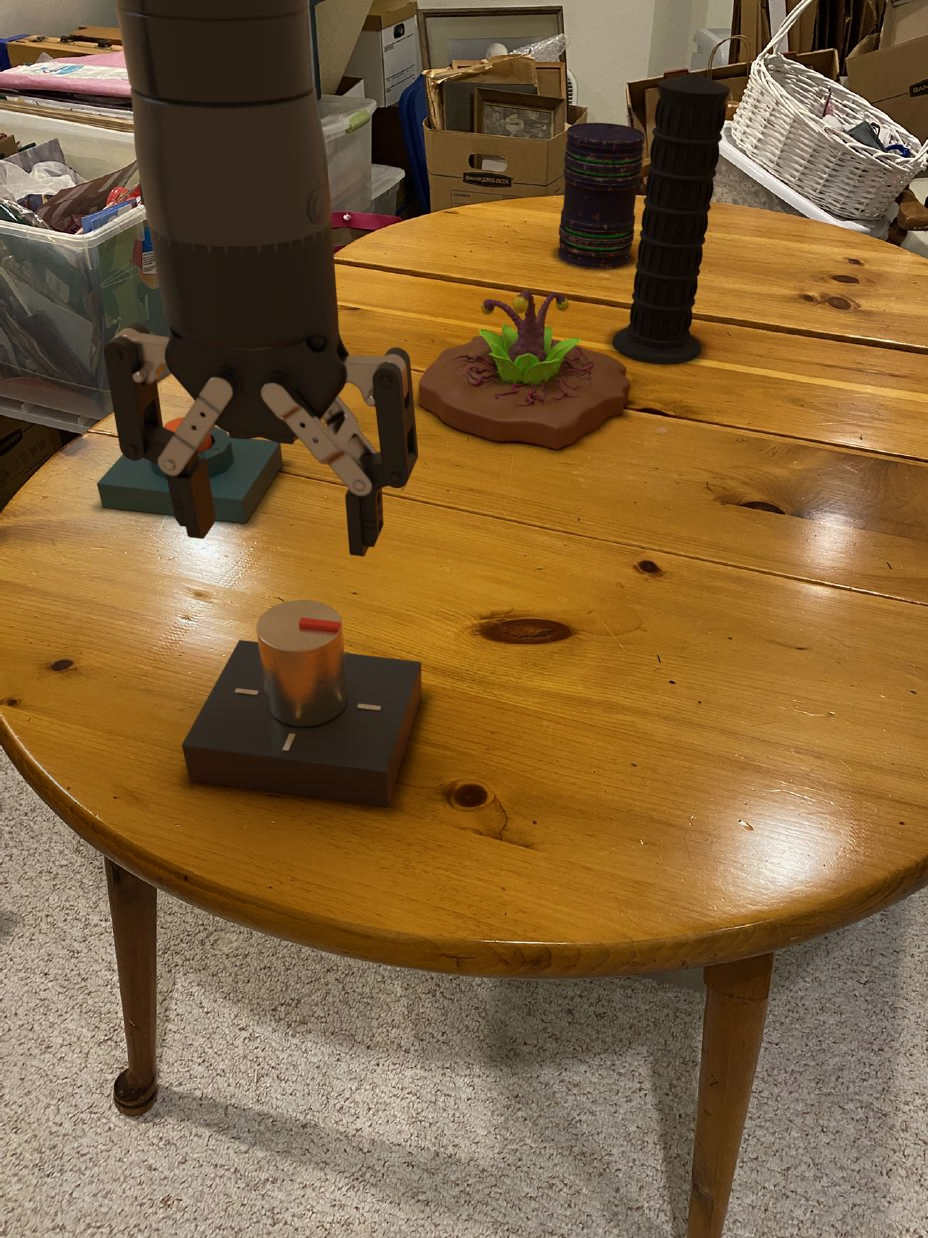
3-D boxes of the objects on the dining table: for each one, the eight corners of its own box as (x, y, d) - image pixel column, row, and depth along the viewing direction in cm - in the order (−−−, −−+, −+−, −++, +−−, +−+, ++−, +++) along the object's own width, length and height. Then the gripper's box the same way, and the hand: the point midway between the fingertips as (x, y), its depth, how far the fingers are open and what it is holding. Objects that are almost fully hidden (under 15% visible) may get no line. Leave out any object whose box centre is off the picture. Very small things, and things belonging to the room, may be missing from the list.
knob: (256, 721, 60) (243, 640, 56) (281, 670, 64) (270, 590, 60) (336, 731, 60) (329, 651, 56) (356, 679, 64) (350, 600, 60)
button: (159, 454, 83) (155, 434, 82) (176, 433, 85) (173, 414, 84) (202, 458, 82) (199, 439, 81) (218, 438, 85) (215, 418, 84)
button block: (102, 507, 83) (91, 462, 80) (151, 449, 90) (142, 407, 88) (245, 523, 82) (239, 479, 79) (283, 464, 90) (278, 422, 87)
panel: (189, 781, 61) (180, 742, 58) (244, 674, 68) (238, 637, 66) (388, 807, 60) (386, 769, 58) (421, 696, 67) (421, 659, 65)
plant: (385, 413, 98) (381, 295, 91) (476, 344, 112) (479, 237, 104) (578, 464, 92) (590, 343, 85) (649, 385, 106) (665, 275, 99)
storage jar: (624, 273, 131) (639, 145, 122) (550, 263, 133) (559, 136, 123) (636, 249, 139) (650, 127, 129) (565, 240, 140) (574, 119, 130)
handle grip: (616, 361, 110) (708, 365, 110) (649, 81, 93) (758, 87, 93) (608, 326, 118) (694, 329, 118) (638, 60, 100) (738, 66, 101)
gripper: (425, 198, 45) (429, 516, 56) (114, 171, 46) (177, 489, 57) (386, 253, 39) (399, 596, 50) (33, 221, 40) (119, 564, 51)
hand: (281, 539), depth 53 cm, fingers open, 8 cm apart
